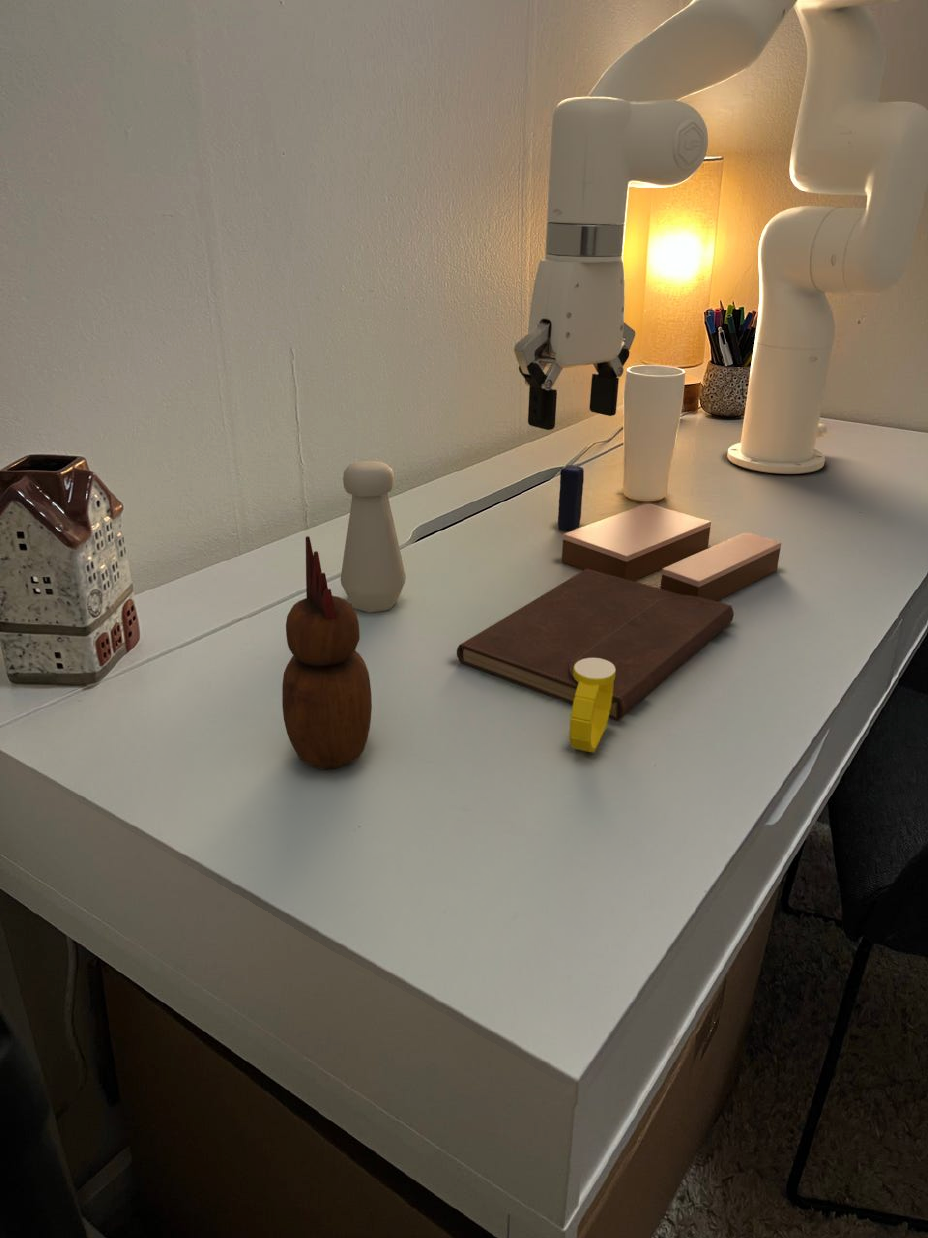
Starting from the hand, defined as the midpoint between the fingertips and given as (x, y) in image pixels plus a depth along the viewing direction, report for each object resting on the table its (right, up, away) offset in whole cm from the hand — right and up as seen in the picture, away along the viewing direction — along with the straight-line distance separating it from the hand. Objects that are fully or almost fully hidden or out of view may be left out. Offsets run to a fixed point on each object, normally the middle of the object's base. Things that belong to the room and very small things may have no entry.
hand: (572, 420), depth 97 cm
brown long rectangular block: (+13, -17, -8) cm, 23 cm away
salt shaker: (-20, -20, -12) cm, 30 cm away
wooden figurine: (-20, -30, -34) cm, 50 cm away
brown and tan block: (+6, -14, -2) cm, 16 cm away
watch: (-3, -29, -33) cm, 44 cm away
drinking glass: (+11, -6, +15) cm, 20 cm away
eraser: (0, -11, +6) cm, 12 cm away
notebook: (0, -23, -19) cm, 30 cm away
